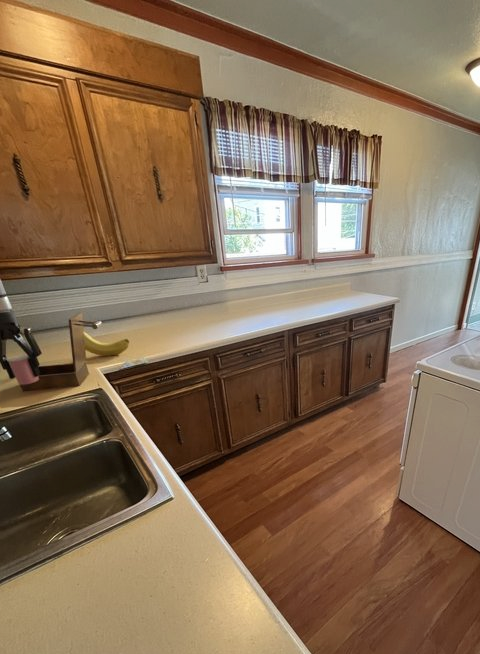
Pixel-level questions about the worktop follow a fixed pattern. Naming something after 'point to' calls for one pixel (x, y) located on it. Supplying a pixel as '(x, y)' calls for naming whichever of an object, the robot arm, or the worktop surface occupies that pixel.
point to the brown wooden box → (58, 377)
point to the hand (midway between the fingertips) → (25, 376)
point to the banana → (105, 346)
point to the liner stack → (22, 369)
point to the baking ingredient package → (134, 362)
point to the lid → (79, 339)
